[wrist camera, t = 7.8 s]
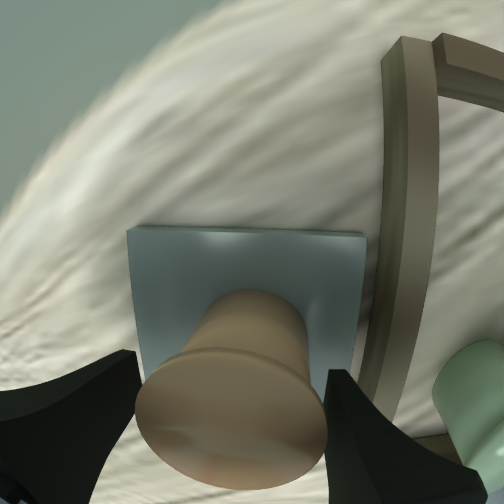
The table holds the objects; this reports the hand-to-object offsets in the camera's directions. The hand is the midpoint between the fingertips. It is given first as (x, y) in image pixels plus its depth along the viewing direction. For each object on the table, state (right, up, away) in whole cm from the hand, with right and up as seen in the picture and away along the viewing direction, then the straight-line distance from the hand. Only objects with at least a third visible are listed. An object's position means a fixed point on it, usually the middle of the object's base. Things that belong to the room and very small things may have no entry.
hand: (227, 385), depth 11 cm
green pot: (+13, -2, +3) cm, 14 cm away
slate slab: (+1, +1, +4) cm, 4 cm away
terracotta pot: (+1, +1, +3) cm, 3 cm away
